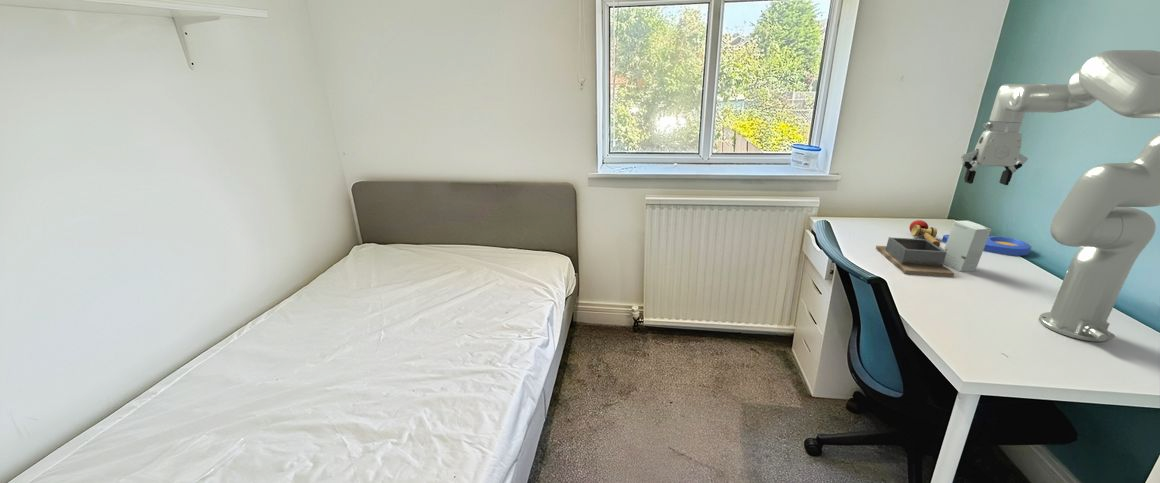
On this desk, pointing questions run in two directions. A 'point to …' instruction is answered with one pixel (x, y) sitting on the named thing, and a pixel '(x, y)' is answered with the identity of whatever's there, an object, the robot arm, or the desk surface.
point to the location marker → (1003, 246)
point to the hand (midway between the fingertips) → (985, 183)
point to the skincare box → (965, 245)
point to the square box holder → (916, 256)
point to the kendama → (924, 231)
